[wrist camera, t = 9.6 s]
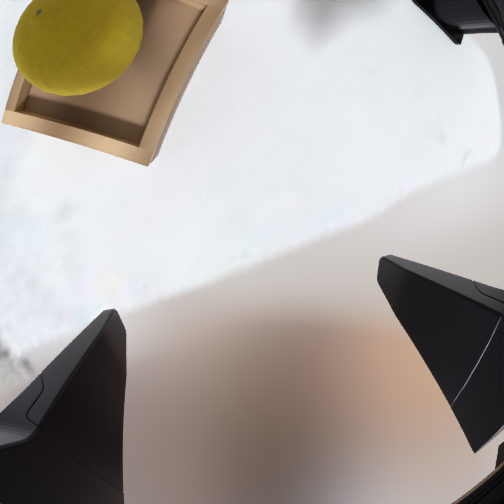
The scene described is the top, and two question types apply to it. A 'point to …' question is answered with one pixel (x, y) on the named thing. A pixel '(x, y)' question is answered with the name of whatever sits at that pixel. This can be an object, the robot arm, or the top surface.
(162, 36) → the tan open box
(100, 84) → the lemon
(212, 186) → the top surface
